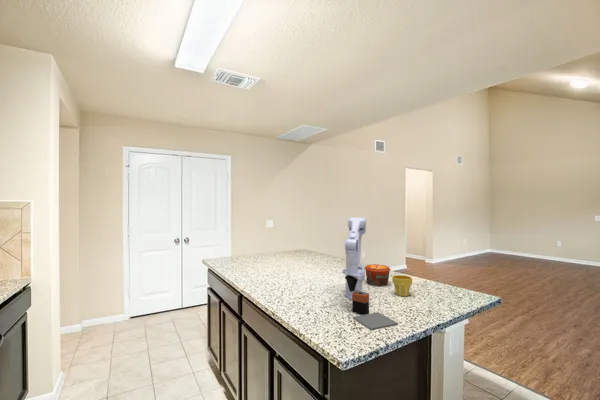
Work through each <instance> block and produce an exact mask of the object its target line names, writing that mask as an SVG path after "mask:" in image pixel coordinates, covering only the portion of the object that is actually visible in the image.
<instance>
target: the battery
mask: <svg viewBox="0 0 600 400" xmlns="http://www.w3.org/2000/svg"><path fill="white" fill-rule="evenodd" d="M351 301H352V304H351V305H352V306H351V307H352V310H351V311H352V312H353V313H354V314H358V315H365V314H370V293H368V292H366V291H362V292H360V291H359V290H355V292H354V293H352V299H351Z"/></svg>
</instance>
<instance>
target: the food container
mask: <svg viewBox="0 0 600 400" xmlns="http://www.w3.org/2000/svg"><path fill="white" fill-rule="evenodd" d="M364 267H365V279H366V283H367V285H369V286H373V287H386V286H388V284H389V279H390V272H391V269H392V268H391V267H389V266H387V265H384V264H376V263H372V264H367V265H364Z"/></svg>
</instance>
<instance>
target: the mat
mask: <svg viewBox="0 0 600 400" xmlns="http://www.w3.org/2000/svg"><path fill="white" fill-rule="evenodd" d="M352 319H353V320H355V321H357V322H358V323H359V324H361V325H363V326H364V327H366V328H367V329H368V330H370V331H374V330H378V329H384V328H388V327H392V326H398V325H399V322H397V321H395V320H393V319H392V318H389V316H386V315H384V314H383V313H381V312H378V311H377V312H373V313H372V312H371V313H368V314H365V315H362V314H359V315H356V316H352Z"/></svg>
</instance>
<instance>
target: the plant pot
mask: <svg viewBox="0 0 600 400" xmlns="http://www.w3.org/2000/svg"><path fill="white" fill-rule="evenodd" d="M392 283H393V286H394V290H395V294H396V295H397V296H399V297H408V296H409V295H410V290H411V286H412V284H413V278H412V277H411V276H408V275H405V274H395V275H393V276H392Z"/></svg>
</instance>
